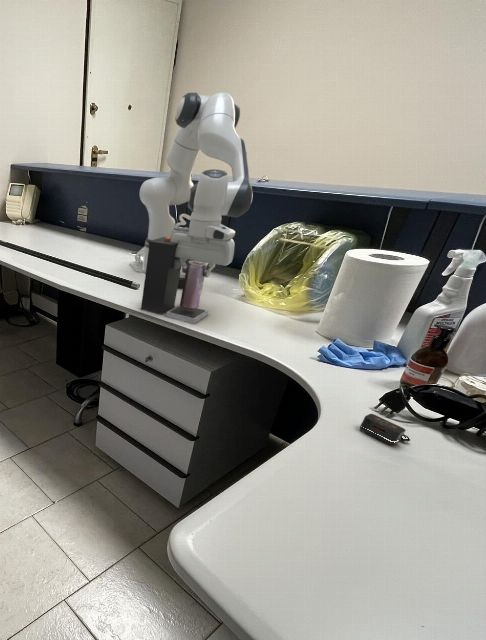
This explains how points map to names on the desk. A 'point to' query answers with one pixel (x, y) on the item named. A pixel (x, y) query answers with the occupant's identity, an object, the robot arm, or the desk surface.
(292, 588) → the desk surface
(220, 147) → the robot arm
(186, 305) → the beverage can
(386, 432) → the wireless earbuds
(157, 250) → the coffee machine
